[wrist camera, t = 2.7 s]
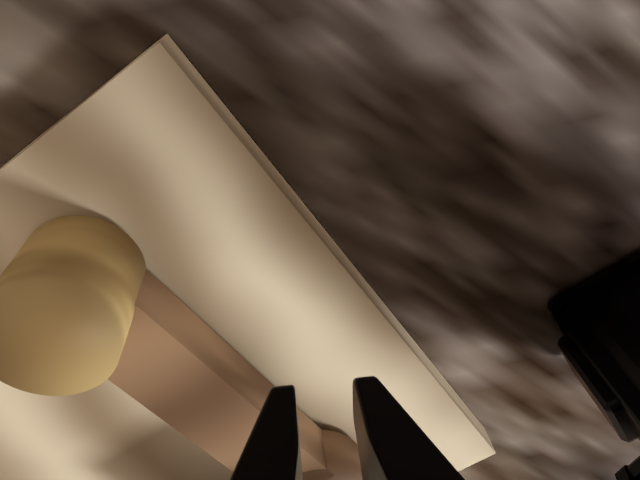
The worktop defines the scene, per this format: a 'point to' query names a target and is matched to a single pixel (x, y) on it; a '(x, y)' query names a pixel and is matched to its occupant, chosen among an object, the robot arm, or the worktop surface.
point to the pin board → (204, 279)
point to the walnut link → (136, 344)
